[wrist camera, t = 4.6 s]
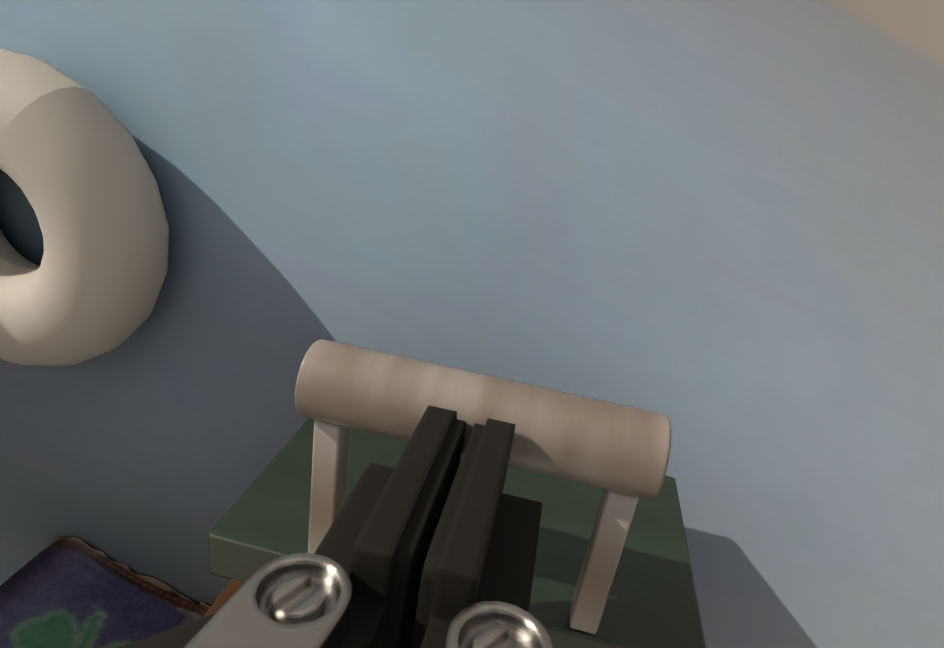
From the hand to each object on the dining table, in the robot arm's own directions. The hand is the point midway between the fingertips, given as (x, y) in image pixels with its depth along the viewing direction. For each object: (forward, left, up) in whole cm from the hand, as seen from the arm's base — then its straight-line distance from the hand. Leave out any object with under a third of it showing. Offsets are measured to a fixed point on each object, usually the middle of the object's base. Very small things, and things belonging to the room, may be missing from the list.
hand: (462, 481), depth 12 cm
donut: (-1, -16, -8) cm, 18 cm away
